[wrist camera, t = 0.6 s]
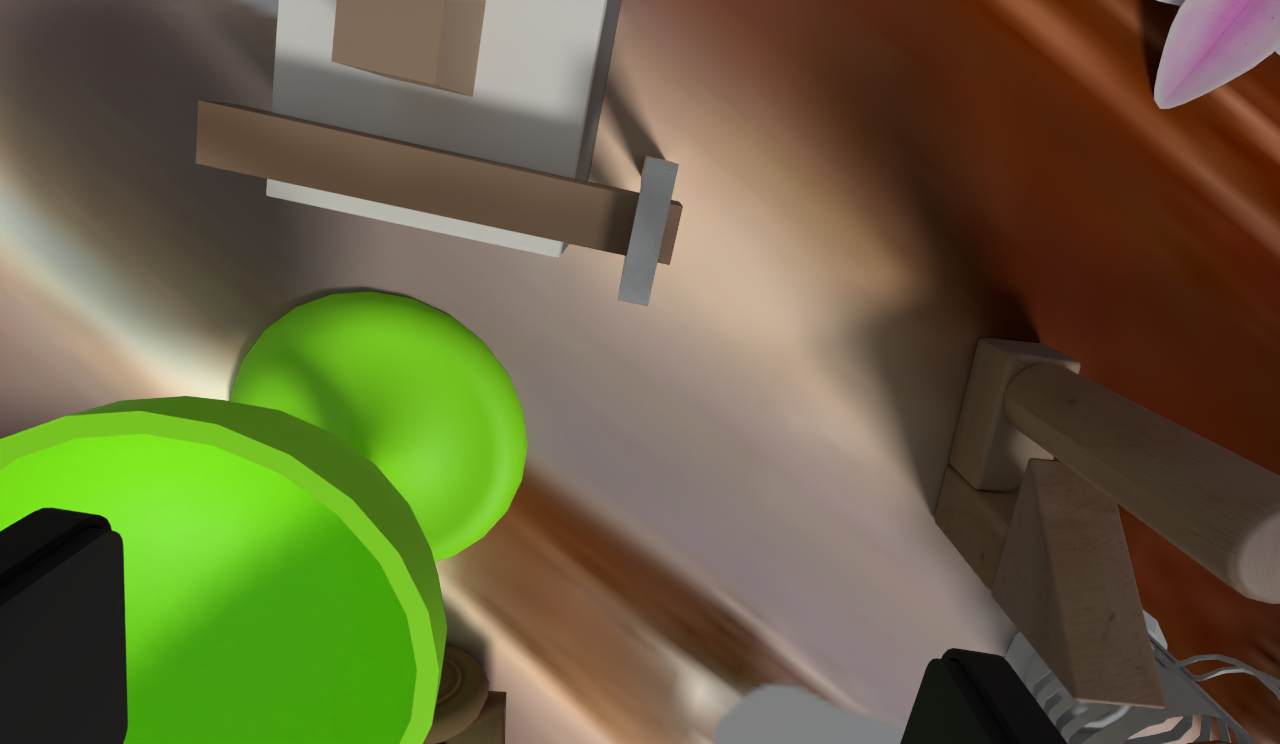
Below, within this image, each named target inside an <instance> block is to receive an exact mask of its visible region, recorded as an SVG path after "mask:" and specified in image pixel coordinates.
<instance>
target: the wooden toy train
mask: <svg viewBox="0 0 1280 744" xmlns="http://www.w3.org/2000/svg"><path fill="white" fill-rule="evenodd" d="M488 683H489V682H488V680H487V678H486V675H485V673H484V670H483V669H482V667H481V665H480V664H479V663H478V662H477V661H476V660H475V659H474V658H473V657H472V656H471V655H470V654H468V653H466V652H464V651H462V650H459V649H457V648H455V647H452V646H446V645H445V650H444V657H443V665H442V672H441V679H440V685H439V690H438V695H437V701H436V706H435V711H434V716H433V722H432V726H431V728H430V730H429V732H428V734H427V736H426V738H425V740H424V742H423V744H505V718H506V692H497V691H488Z"/></svg>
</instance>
